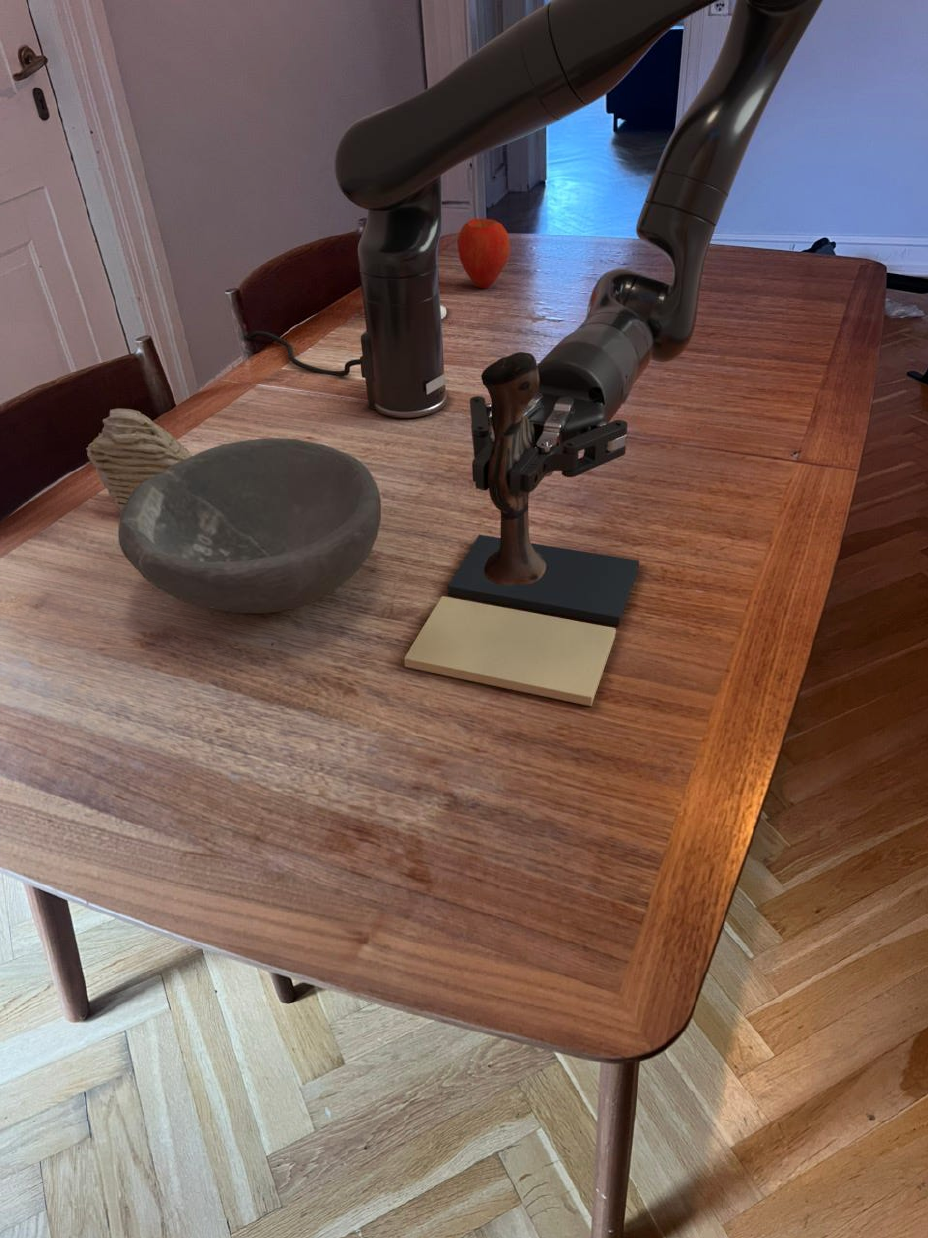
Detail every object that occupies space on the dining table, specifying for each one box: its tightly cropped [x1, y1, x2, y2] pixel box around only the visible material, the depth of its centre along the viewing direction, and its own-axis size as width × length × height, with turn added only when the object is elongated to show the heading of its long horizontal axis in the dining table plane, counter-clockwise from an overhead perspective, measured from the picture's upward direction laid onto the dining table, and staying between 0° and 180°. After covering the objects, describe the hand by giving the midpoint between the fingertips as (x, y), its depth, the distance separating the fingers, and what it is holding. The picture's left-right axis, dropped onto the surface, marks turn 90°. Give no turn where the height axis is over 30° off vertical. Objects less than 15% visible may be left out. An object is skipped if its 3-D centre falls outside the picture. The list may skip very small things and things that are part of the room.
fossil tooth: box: [85, 407, 193, 511], centre depth 93 cm, size 12×6×15 cm
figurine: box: [480, 351, 546, 585], centre depth 65 cm, size 7×5×18 cm
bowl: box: [117, 437, 382, 614], centre depth 82 cm, size 23×22×10 cm
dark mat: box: [447, 534, 640, 627], centre depth 83 cm, size 16×9×1 cm, turn 70°
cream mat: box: [403, 595, 617, 707], centre depth 75 cm, size 16×9×1 cm, turn 70°
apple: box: [456, 217, 511, 290], centre depth 145 cm, size 9×8×11 cm
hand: (497, 481), depth 62 cm, fingers closed on figurine
